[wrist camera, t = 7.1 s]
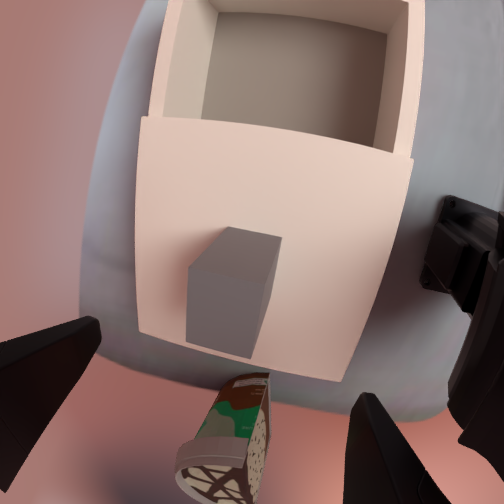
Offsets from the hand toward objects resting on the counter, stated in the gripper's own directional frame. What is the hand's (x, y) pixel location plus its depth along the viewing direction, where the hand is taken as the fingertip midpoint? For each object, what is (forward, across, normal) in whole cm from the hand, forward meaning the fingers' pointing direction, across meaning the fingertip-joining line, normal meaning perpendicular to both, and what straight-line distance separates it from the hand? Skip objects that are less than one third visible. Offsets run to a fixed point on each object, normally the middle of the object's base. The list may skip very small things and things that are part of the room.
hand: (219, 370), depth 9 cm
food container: (+12, 0, +16) cm, 20 cm away
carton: (+12, +1, -10) cm, 15 cm away
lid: (+6, 0, -1) cm, 6 cm away
